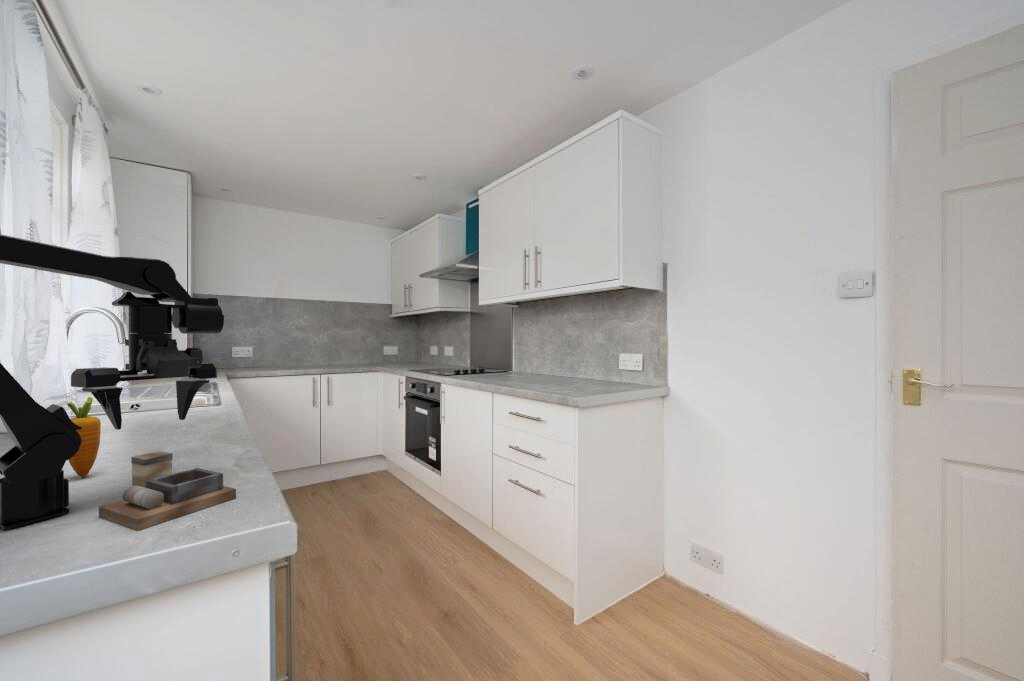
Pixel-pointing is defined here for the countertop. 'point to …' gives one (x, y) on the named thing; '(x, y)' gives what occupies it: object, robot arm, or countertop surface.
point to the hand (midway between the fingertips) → (151, 424)
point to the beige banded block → (150, 467)
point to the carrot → (85, 438)
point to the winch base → (168, 498)
